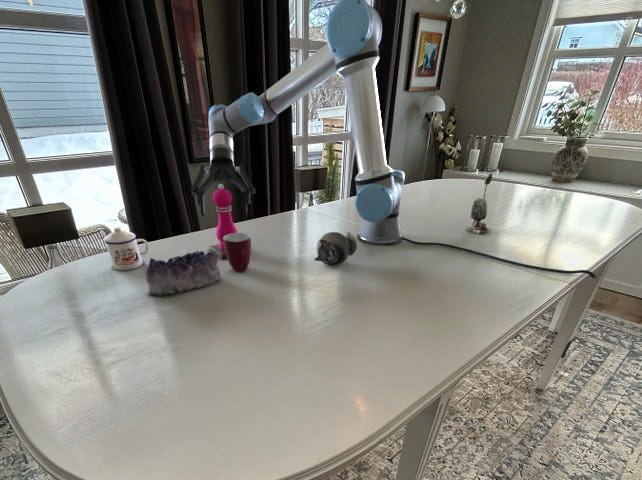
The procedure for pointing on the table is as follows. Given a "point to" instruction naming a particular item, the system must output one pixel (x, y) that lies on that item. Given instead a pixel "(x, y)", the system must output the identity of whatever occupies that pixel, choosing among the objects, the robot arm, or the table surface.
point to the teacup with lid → (124, 249)
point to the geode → (182, 273)
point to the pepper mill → (223, 214)
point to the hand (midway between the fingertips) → (224, 213)
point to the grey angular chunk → (218, 251)
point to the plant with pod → (480, 211)
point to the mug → (238, 250)
